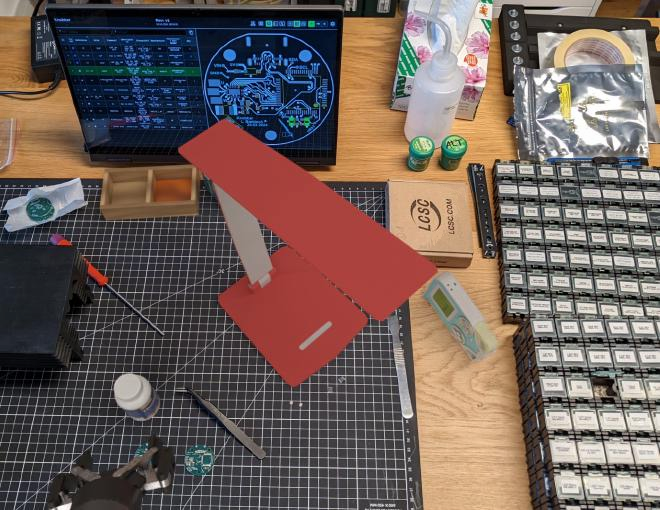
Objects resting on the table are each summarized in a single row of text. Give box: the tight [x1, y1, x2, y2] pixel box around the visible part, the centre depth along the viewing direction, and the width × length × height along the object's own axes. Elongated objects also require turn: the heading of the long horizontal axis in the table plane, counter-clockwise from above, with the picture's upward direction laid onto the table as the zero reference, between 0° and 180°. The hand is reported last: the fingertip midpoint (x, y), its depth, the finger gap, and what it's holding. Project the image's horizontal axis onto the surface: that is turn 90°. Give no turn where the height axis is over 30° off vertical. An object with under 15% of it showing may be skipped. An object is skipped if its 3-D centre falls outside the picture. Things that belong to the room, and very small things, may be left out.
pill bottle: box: [113, 372, 161, 422], centre depth 95 cm, size 5×5×10 cm
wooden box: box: [99, 164, 201, 221], centre depth 118 cm, size 9×17×4 cm, turn 94°
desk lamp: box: [177, 118, 439, 388], centre depth 89 cm, size 18×38×40 cm, turn 43°
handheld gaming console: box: [420, 270, 499, 364], centre depth 103 cm, size 11×3×15 cm
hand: (121, 448), depth 81 cm, fingers open, 8 cm apart
